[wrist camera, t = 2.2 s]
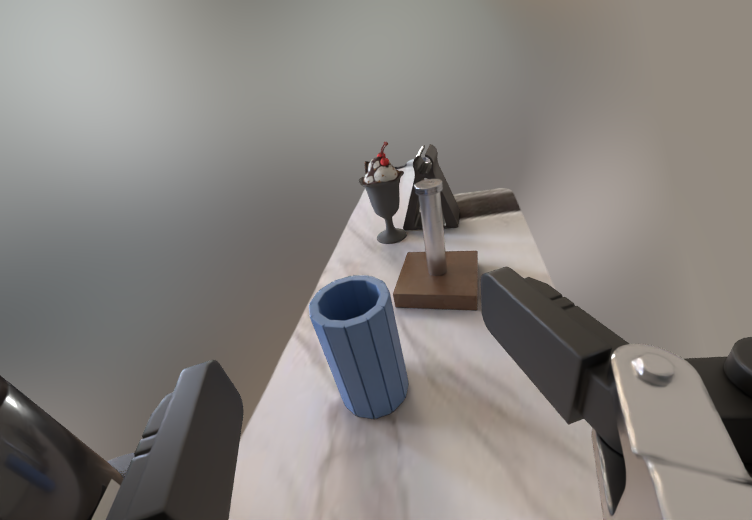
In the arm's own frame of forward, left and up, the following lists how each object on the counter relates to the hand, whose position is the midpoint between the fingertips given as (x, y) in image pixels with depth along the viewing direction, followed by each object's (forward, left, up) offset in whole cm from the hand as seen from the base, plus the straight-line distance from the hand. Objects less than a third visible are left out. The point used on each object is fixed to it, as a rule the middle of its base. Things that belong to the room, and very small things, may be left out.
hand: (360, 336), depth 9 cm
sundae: (-11, +38, -17) cm, 43 cm away
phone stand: (-5, +43, -17) cm, 46 cm away
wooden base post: (-2, +25, -17) cm, 30 cm away
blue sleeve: (-6, +10, -17) cm, 20 cm away
